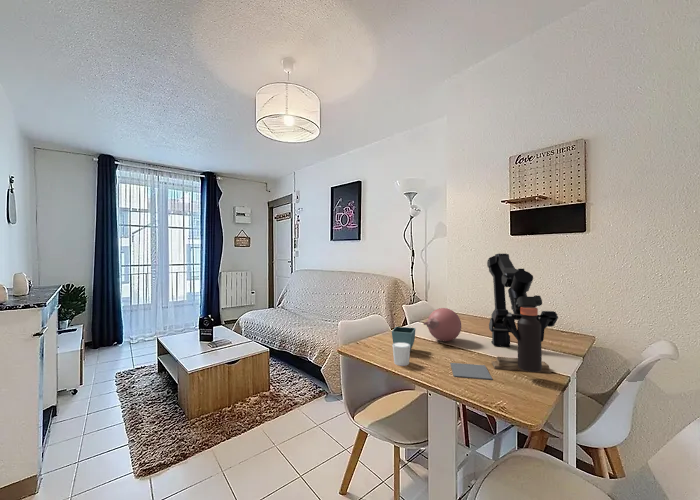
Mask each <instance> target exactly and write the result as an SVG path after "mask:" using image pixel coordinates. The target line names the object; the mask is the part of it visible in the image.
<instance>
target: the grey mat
mask: <svg viewBox="0 0 700 500" xmlns="http://www.w3.org/2000/svg"><path fill="white" fill-rule="evenodd" d="M450 367H451V371H452V375H453V377H455V378H466V379H479V380H486V381H487V380H488V381H489V380H490V381H492V380H493V378H492V375H491V374H490V371H489V370H488V369H487V366H486V365H484V364H471V363H462V362H459V363H458V362H450Z"/></svg>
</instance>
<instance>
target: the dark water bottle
mask: <svg viewBox="0 0 700 500" xmlns="http://www.w3.org/2000/svg"><path fill="white" fill-rule="evenodd" d="M538 311H539V309H538V307H520V314H521V316H522V318H521V319H520V320H517V324H516V328H517V331H518V334H519V338H520V339H519V340H517V358H518V367H519V368H520V369H522V370H525V371H524V372H530V373H541V372H540V371H541V370H542V355H543V354H542V349H543V348H542V342H541V323H540V322H539V321H538V320H537V315H539V313H538Z"/></svg>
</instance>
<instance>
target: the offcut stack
mask: <svg viewBox="0 0 700 500" xmlns="http://www.w3.org/2000/svg"><path fill="white" fill-rule="evenodd" d="M491 365H492V367H493V368H494V370H506V371H507V370H509V371H510V370H511V371H522V372H523V371H524V372H526V371H525V370H522V369H520V368H519V367H518V357H509V356H508V357H506V356H496V360H491ZM539 373H547V374H548V373H549V374H552V369H551V368H550V365H549V364H548V363H547V362H546V361H542V370H541V371H540V372H539Z"/></svg>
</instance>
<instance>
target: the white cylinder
mask: <svg viewBox="0 0 700 500" xmlns="http://www.w3.org/2000/svg"><path fill="white" fill-rule="evenodd" d="M391 346H392V354H393V363H394V365H395V366H399V367H404V366H405V367H406V366H408V365H409V364H410V354H411V350H410V344H408V343H404V342H397V343H393V342H392V345H391Z"/></svg>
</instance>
